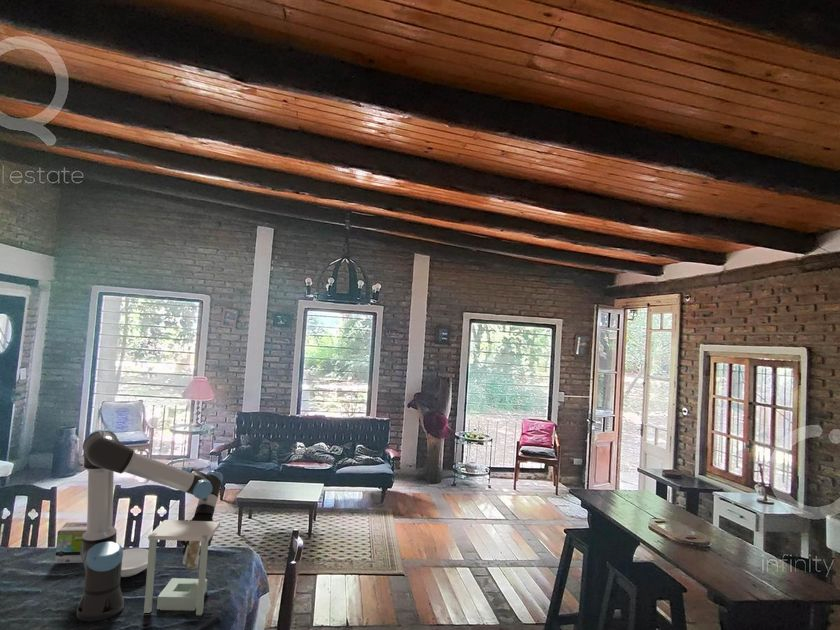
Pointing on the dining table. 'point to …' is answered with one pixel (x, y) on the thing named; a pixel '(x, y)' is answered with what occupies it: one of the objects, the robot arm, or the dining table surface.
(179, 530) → the socket
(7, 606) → the dining table surface
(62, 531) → the tea box
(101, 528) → the robot arm
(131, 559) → the bowl
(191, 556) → the dowel
